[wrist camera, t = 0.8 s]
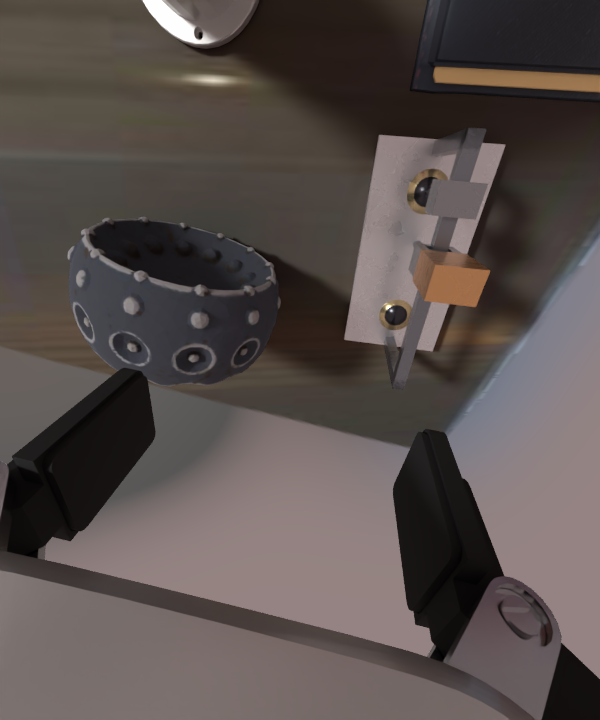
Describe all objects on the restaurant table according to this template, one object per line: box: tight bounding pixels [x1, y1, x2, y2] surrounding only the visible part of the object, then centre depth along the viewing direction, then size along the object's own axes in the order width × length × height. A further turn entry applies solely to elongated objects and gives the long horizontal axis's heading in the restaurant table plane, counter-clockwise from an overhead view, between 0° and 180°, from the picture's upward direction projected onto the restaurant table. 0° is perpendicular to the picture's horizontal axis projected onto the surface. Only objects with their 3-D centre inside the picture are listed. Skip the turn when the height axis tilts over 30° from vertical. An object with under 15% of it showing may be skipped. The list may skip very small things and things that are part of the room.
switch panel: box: [344, 128, 505, 390], centre depth 32 cm, size 23×12×12 cm, turn 176°
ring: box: [68, 217, 281, 386], centre depth 33 cm, size 11×20×20 cm, turn 72°
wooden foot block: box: [408, 240, 490, 307], centre depth 28 cm, size 3×4×15 cm
